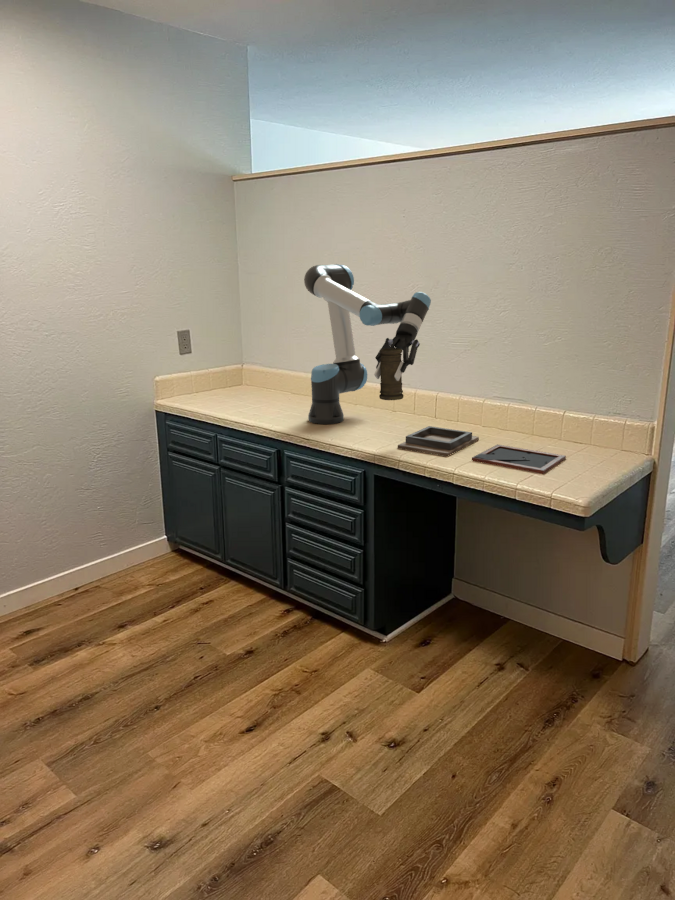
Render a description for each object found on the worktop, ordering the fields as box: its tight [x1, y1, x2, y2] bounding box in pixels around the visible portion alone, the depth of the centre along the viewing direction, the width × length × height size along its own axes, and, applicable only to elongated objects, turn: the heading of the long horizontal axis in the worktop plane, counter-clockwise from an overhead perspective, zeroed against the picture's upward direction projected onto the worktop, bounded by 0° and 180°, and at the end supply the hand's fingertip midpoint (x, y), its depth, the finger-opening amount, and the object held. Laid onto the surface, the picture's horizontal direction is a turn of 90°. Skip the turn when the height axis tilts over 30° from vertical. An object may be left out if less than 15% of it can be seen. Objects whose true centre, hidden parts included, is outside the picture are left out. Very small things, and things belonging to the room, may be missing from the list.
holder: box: [397, 425, 480, 457], centre depth 249 cm, size 26×20×4 cm
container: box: [378, 348, 405, 401], centre depth 247 cm, size 9×9×18 cm
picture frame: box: [471, 444, 567, 475], centre depth 229 cm, size 20×2×25 cm
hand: (386, 377), depth 245 cm, fingers closed on container, 8 cm apart
